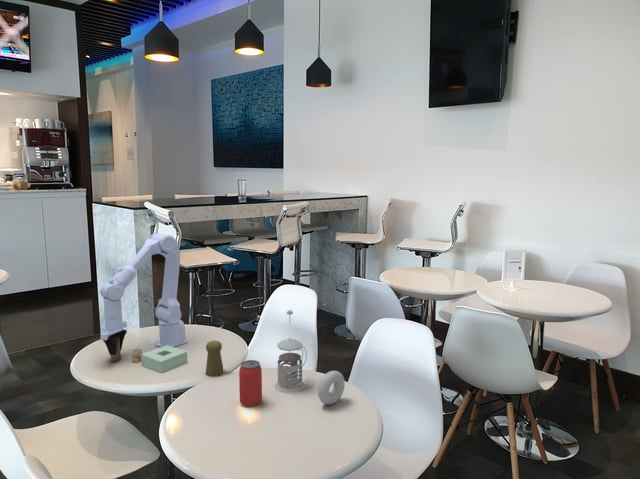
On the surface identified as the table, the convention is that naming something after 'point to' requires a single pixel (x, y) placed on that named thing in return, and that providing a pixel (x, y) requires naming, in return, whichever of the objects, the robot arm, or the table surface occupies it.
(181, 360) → the collar block
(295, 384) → the french press
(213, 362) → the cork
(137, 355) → the short pin
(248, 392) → the beer can
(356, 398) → the table surface
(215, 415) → the table surface
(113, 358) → the long pin
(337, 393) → the donut
